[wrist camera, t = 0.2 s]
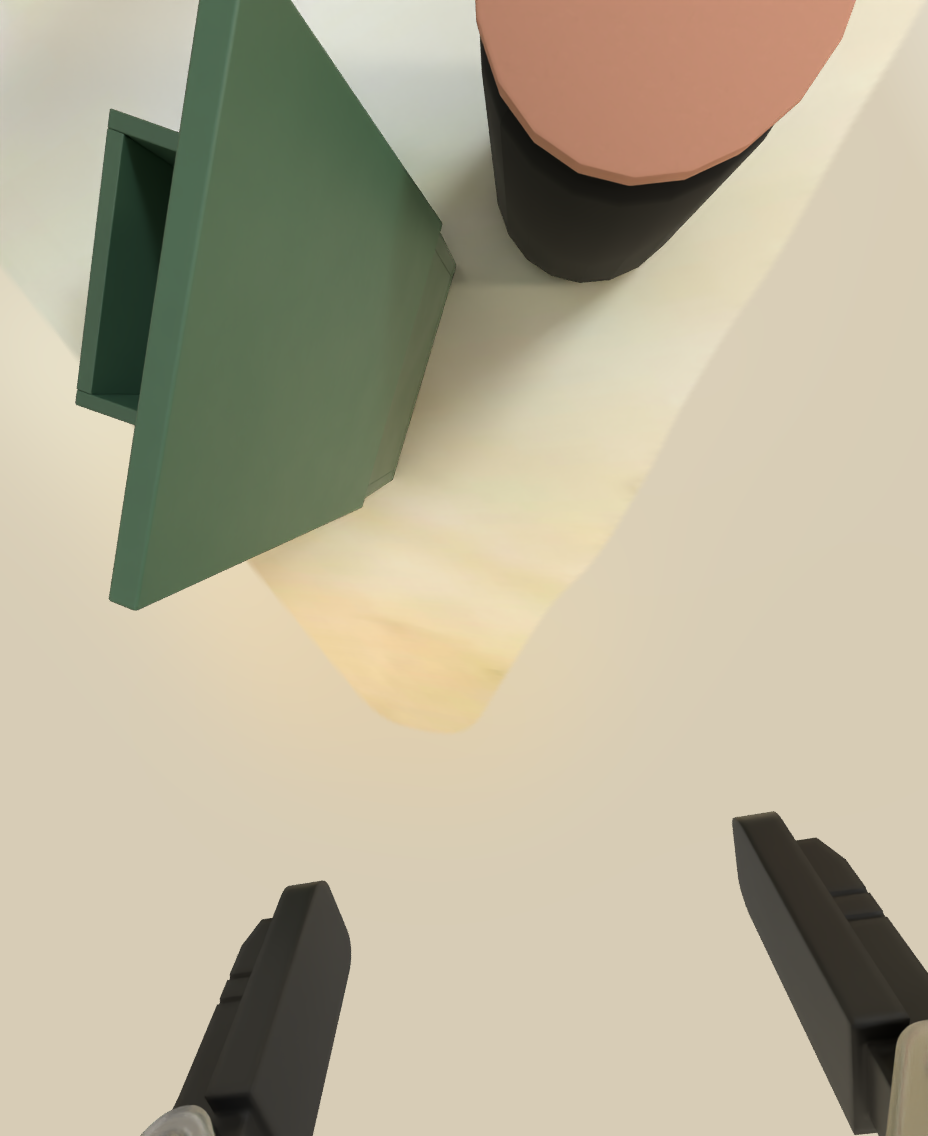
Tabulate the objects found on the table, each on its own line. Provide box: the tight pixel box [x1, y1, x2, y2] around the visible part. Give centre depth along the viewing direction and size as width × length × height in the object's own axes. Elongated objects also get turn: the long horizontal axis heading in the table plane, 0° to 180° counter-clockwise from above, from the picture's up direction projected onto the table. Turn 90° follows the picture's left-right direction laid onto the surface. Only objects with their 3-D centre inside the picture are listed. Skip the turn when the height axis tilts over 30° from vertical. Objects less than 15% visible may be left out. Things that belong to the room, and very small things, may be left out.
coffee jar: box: [475, 0, 856, 283], centre depth 24 cm, size 11×11×18 cm
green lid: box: [109, 0, 442, 610], centre depth 20 cm, size 16×14×1 cm
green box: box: [75, 109, 456, 498], centre depth 32 cm, size 16×14×9 cm
